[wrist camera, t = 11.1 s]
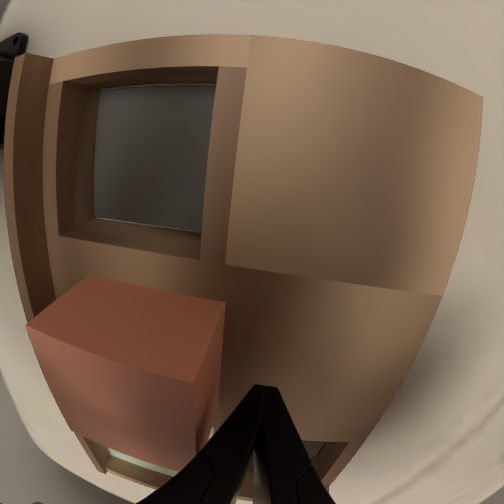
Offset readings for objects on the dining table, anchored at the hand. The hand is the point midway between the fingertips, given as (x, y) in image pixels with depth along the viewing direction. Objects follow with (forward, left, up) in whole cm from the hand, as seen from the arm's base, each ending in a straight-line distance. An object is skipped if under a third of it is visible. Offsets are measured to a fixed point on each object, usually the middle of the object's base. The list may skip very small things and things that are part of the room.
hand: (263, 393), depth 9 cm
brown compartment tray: (-2, 0, -3) cm, 4 cm away
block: (-4, 0, -1) cm, 4 cm away
